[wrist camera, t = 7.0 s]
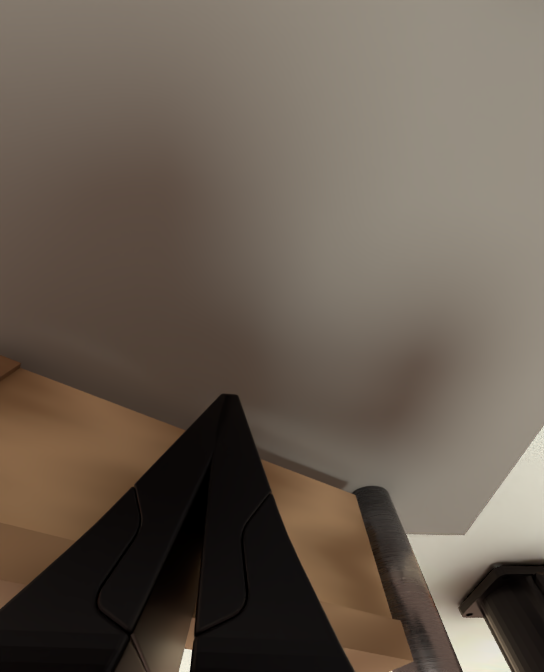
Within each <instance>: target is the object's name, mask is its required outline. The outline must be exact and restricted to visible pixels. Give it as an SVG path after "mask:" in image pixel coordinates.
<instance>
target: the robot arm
mask: <svg viewBox="0 0 544 672" xmlns="http://www.w3.org/2000/svg"><path fill="white" fill-rule="evenodd" d="M134 487H135V488H134ZM134 487H131V488H130V489H129V490H128V491H127V492H126V493H125V494H124V495H123V496H122V497H121V498H120V499H119V500H118V501H117V502H116V503H115V504H114V505H113V506H112V507H111V508H110V509H109V510H108V511H107V512H106V513H105V514H104V515H103V516H102V517H101V518H100V519H99V520H98V521H97V522H96V523H95V524H94V525H93V526H92V527H91V528H90V529H89V530H88V531H87V532H85V533H84V534H83V535H82V536H81V537H80V538H79V539H78V540H77V541H76V542H75V543H73V544H72V545H71V546H70V547H69V548H68V549H67V550H66V551H65V552H64V553H63V554H61V555H60V556H59V557H58V558H57V559H56V560H55V561H54V562H52V563H51V564H50V565H49V566H48V567H47V568H46V569H45V570H43V571H42V572H41V573H40V574H39V575H38V576H37V577H35V578H34V579H33V580H32V581H31V582H30V583H29V584H28V585H26V586H25V587H24V588H23V589H22V590H21V591H20V592H19V593H17V594H16V595H15V596H14V597H13V598H12V599H11V600H10V601H8V602H7V603H6V604H5V605H4V606H3V607H2V608H1V609H0V672H179V668H180V664H181V660H182V656H183V652H184V648H185V644H186V640H187V636H188V632H189V628H190V624H191V620H192V616H193V612H194V608H195V604H196V600H197V606H196V616H195V627H194V641H193V647H192V657H191V666H190V672H355V670H354V668H353V667H352V665H351V663H350V661H349V659H348V657H347V655H346V654H345V652H344V650H343V648H342V646H341V644H340V642H339V640H338V638H337V636H336V634H335V632H334V630H333V628H332V626H331V624H330V621H329V619H328V617H327V615H326V613H325V611H324V609H323V607H322V605H321V603H320V601H319V599H318V597H317V595H316V593H315V591H314V589H313V587H312V585H311V583H310V581H309V579H308V577H307V574H306V572H305V570H304V568H303V566H302V564H301V562H300V560H299V558H298V556H297V553H296V551H295V549H294V547H293V545H292V542H291V540H290V538H289V536H288V533H287V531H286V528H285V526H284V523H283V520H282V518H281V515H280V513H279V510H278V507H277V504H276V501H275V499H274V496H273V494H272V490H271V488H270V485H269V482H268V479H267V476H266V473H265V470H264V467H263V465H262V462H261V459H260V456H259V453H258V450H257V447H256V444H255V442H254V439H253V436H252V433H251V430H250V427H249V424H248V422H247V419H246V416H245V413H244V410H243V407H242V404H241V401H240V399H239V396H238V395H237V394H226V393H222V394H220V395H219V396H218V397H217V399H216V400H215V401H214V402H213V403H212V404H211V405H210V406H209V407H208V408H207V409H206V410H205V411H204V412H203V413H202V414H201V415H200V416H199V417H198V418H197V419H196V420H195V421H194V422H193V423H192V425H191V426H190V427H189V428H188V429H187V430H186V431H185V432H184V433H183V434H182V435H181V436H180V437H179V438H178V439H177V440H176V441H175V442H174V443H173V444H172V445H171V446H170V447H169V448H168V450H167V451H166V452H165V453H164V454H163V455H162V456H161V457H160V458H159V459H158V460H157V461H156V462H155V463H154V464H153V465H152V466H151V467H150V468H149V469H148V470H147V471H146V472H145V473H144V474H143V476H142V477H141V478H140V479H139V480H138V481H137V482H136V483H135V484H134ZM459 610H460V612H461V615H462V617H466V618H484V619H485V621H486V623H487V625H488V627H489V629H490V631H491V633H492V635H493V637H494V639H495V641H496V643H497V644H498V646H499V648H500V650H501V652H502V654H503V656H504V658H505V660H506V662H507V664H508V666H509V668H510V670H511V672H544V566H499V567H496V568H494V569H493V570H492V571H491V572H490V573H489V575H488V576H487V577H486V578H485V579H484V580H483V581H482V582H481V583H480V584H479V586H478V587H477V588H476V589H475V590H474V591H473V592H472V593H471V594H470V595H469V596H468V598H467V599H466V600H465V601H464V602H463V603H462V604H461V605H460V606H459Z"/></svg>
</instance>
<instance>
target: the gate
mask: <svg viewBox="0 0 544 672" xmlns="http://www.w3.org/2000/svg"><path fill="white" fill-rule="evenodd" d="M20 366H21V363H20V362H17V361H15V360H12V359H10V358H7V357H4V356H2V355H0V609H1V608H2V607H3V606H4V605H5V604H6V603H7V602H8V601H10V600H11V599H12V598H13V597H14V596H15V595H16V594H17V593H19V592H20V591H21V590H22V589H23V588H24V587H25V586H26V585H28V584H29V583H30V582H31V581H32V580H33V579H34V578H35V577H37V576H38V575H39V574H40V573H41V572H42V571H43V570H45V569H46V568H47V567H48V566H49V565H50V564H51V563H52V562H54V561H55V560H56V559H57V558H58V557H59V556H60V555H61V554H63V553H64V552H65V551H66V550H67V549H68V548H69V547H70V546H71V545H72V544H73V543H75V542H76V541H77V540H78V539H79V538H80V537H81V536H82V535H83V534H84V533H85V532H87V531H88V530H89V529H90V528H91V527H92V526H93V525H94V524H95V523H96V522H97V521H98V520H99V519H100V518H101V517H102V516H103V515H104V514H105V513H106V512H107V511H108V510H109V509H110V508H111V507H112V506H113V505H114V504H115V503H116V502H117V501H118V500H119V499H120V498H121V497H122V496H123V495H124V494H125V493H126V492H127V491H128V490H129V489H130V488H131V487H134V484H135V483H136V482H137V481H138V480H139V479H140V478H141V477H142V476H143V474H144V473H145V472H146V471H147V470H148V469H149V468H150V467H151V466H152V465H153V464H154V463H155V462H156V461H157V460H158V459H159V458H160V457H161V456H162V455H163V454H164V453H165V452H166V451H167V450H168V448H169V447H170V446H171V445H172V444H173V443H174V442H175V441H176V440H177V439H178V438H179V437H180V436H181V435H182V434H183V433H184V432H185V431H186V430H183V429H180V428H178V427H175V426H172V425H170V424H167V423H165V422H162V421H159V420H157V419H154V418H151V417H149V416H146V415H144V414H141V413H138V412H136V411H133V410H130V409H128V408H125V407H122V406H120V405H117V404H115V403H112V402H109V401H107V400H104V399H101V398H99V397H96V396H94V395H91V394H88V393H86V392H83V391H80V390H78V389H75V388H72V387H70V386H67V385H65V384H62V383H59V382H57V381H54V380H51V379H49V378H46V377H44V376H41V375H38V374H36V373H33V372H30V371H28V370H25V369H22V368H20ZM261 462H262V465H263V467H264V470H265V473H266V476H267V479H268V482H269V485H270V488H271V490H272V494H273V496H274V499H275V501H276V504H277V507H278V510H279V513H280V515H281V518H282V520H283V523H284V526H285V528H286V531H287V533H288V536H289V538H290V540H291V542H292V545H293V547H294V549H295V551H296V553H297V556H298V558H299V560H300V562H301V564H302V566H303V568H304V570H305V572H306V574H307V577H308V579H309V581H310V583H311V585H312V587H313V589H314V591H315V593H316V595H317V597H318V599H319V601H320V603H321V605H322V607H323V609H324V611H325V613H326V615H327V617H328V619H329V621H330V624H331V626H332V628H333V630H334V632H335V634H336V636H337V638H338V640H339V642H340V644H341V646H342V648H343V650H344V652H345V654H346V655H347V657H348V659H349V661H350V663H351V665H352V667H353V668H354V670H355V672H389V671H392V670H394V669H397V668H399V667H401V666H404V665H406V664H409V663H411V662H413V657H412V654H411V651H410V648H409V645H408V642H407V639H406V635H405V632H404V629H403V626H402V623H401V621H400V620H396V619H392V616H391V612H390V609H389V606H388V602H387V599H386V596H385V592H384V589H383V586H382V582H381V579H380V576H379V572H378V569H377V566H376V562H375V559H374V555H373V552H372V549H371V545H370V542H369V539H368V535H367V532H366V529H365V525H364V522H363V519H362V515H361V512H360V509H359V505H358V502H357V498H356V495H354V494H351V493H349V492H346V491H343V490H341V489H338V488H336V487H333V486H330V485H328V484H325V483H322V482H320V481H317V480H315V479H312V478H309V477H307V476H304V475H301V474H299V473H296V472H293V471H291V470H288V469H286V468H283V467H280V466H278V465H275V464H272V463H270V462H267V461H265V460H262V459H261ZM134 488H135V487H134ZM196 606H197V600H196V604H195V608H194V612H193V616H192V620H191V624H190V628H189V632H188V636H187V640H186V644H185V649H191V650H192V647H193V641H194V627H195V616H196Z"/></svg>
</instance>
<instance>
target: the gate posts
mask: <svg viewBox="0 0 544 672" xmlns="http://www.w3.org/2000/svg"><path fill="white" fill-rule="evenodd" d="M351 494H354V495H356V498H357V502H358V505H359V509H360V512H361V515H362V519H363V522H364V525H365V529H366V532H367V535H368V539H369V542H370V545H371V549H372V552H373V555H374V559H375V562H376V566H377V569H378V572H379V576H380V579H381V582H382V586H383V589H384V592H385V596H386V599H387V602H388V606H389V609H390V612H391V616H392V619H396V620H400V621H401V623H402V626H403V629H404V632H405V635H406V639H407V642H408V645H409V648H410V651H411V654H412V657H413V662H411V663H409V664H406V665H404V666H401V667H399V668H397V669H394V670H392V671H393V672H463V671H462V669H461V666H460V664H459V661H458V659H457V656H456V654H455V652H454V649H453V647H452V644H451V642H450V640H449V637H448V635H447V632H446V630H445V627H444V625H443V623H442V620H441V618H440V615H439V613H438V610H437V608H436V606H435V603H434V601H433V598H432V596H431V594H430V591H429V589H428V586H427V584H426V581H425V579H424V577H423V574H422V572H421V569H420V567H419V564H418V562H417V560H416V557H415V555H414V552H413V550H412V548H411V545H410V543H409V540H408V538H407V535H406V533H405V531H404V528H403V526H402V523H401V521H400V518H399V516H398V514H397V511H396V509H395V506H394V504H393V502H392V499H391V497H390V494H389V492H388V491H387V490H386V489H385V488H383V487H380V486H365V487H361V488H359V489H357V490H355V491H353V492H352V493H351Z"/></svg>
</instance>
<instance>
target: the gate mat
mask: <svg viewBox="0 0 544 672" xmlns="http://www.w3.org/2000/svg"><path fill="white" fill-rule="evenodd" d="M0 355H2V356H4V357H7V358H10V359H12V360H15V361H17V362H20V363H21V366H20V368H22V369H25V370H28V371H30V372H33V373H36V374H38V375H41V376H44V377H46V378H49V379H51V380H54V381H57V382H59V383H62V384H65V385H67V386H70V387H72V388H75V389H78V390H80V391H83V392H86V393H88V394H91V395H94V396H96V397H99V398H101V399H104V400H107V401H109V402H112V403H115V404H117V405H120V406H122V407H125V408H128V409H130V410H133V411H136V412H138V413H141V414H144V415H146V416H149V417H151V418H154V419H157V420H159V421H162V422H165V423H167V424H170V425H172V426H175V427H178V428H180V429H183V430H187V429H188V428H189V427H190V426H191V425H192V423H193V422H194V421H195V420H196V419H197V418H198V417H199V416H200V415H201V414H202V413H203V412H204V411H205V410H206V409H207V408H208V407H209V406H210V405H211V404H212V403H213V402H214V401H215V400H216V399H217V397H218V396H219V395H220V394H222V393H226V394H237V395H238V396H239V399H240V401H241V404H242V407H243V410H244V413H245V416H246V419H247V422H248V424H249V427H250V430H251V433H252V436H253V439H254V442H255V444H256V447H257V450H258V453H259V456H260V459H262V460H265V461H267V462H270V463H272V464H275V465H278V466H280V467H283V468H286V469H288V470H291V471H293V472H296V473H299V474H301V475H304V476H307V477H309V478H312V479H315V480H317V481H320V482H322V483H325V484H328V485H330V486H333V487H336V488H338V489H341V490H343V491H346V492H349V493H352V492H353V491H355V490H357V489H359V488H361V487H365V486H380V487H383V488H385V489H386V490H387V491H388V492H389V494H390V497H391V499H392V502H393V504H394V506H395V509H396V511H397V514H398V516H399V518H400V521H401V523H402V526H403V528H404V531H405V533H406V534H427V535H465V533H466V532H467V531H468V529H469V528H470V526H471V525H472V524H473V522H474V521H475V520H476V518H477V517H478V515H479V514H480V513H481V511H482V510H483V509H484V507H485V506H486V504H487V503H488V502H489V500H490V499H491V497H492V496H493V495H494V493H495V492H496V491H497V489H498V488H499V486H500V485H501V484H502V482H503V481H504V480H505V478H506V477H507V475H508V474H509V473H510V471H511V470H512V468H513V467H514V466H515V464H516V463H517V462H518V460H519V459H520V457H521V456H522V455H523V453H524V452H525V450H526V449H527V448H528V446H529V445H530V444H531V442H532V441H533V439H534V438H535V437H536V435H537V434H538V433H539V431H540V430H541V428H542V427H543V426H544V0H0Z"/></svg>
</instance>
